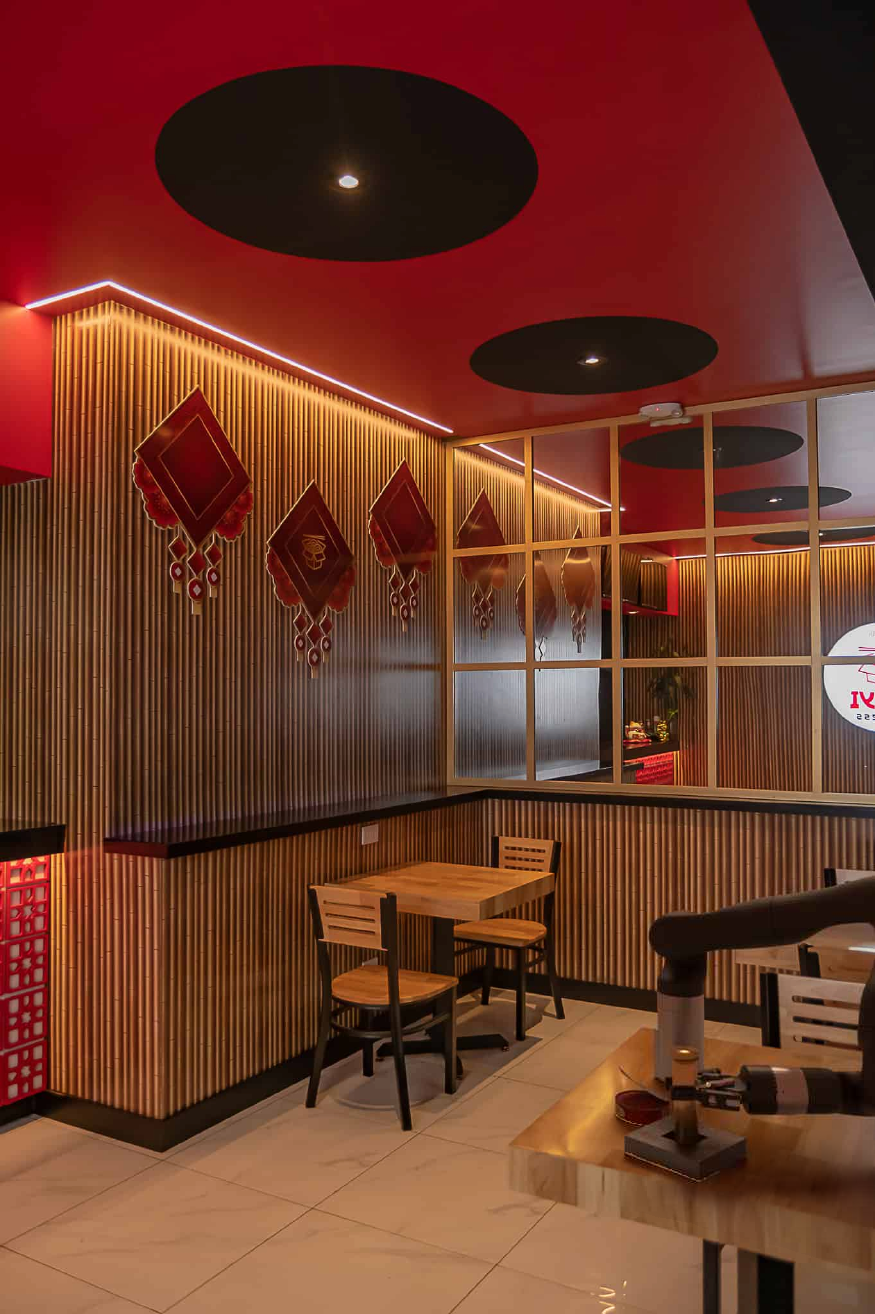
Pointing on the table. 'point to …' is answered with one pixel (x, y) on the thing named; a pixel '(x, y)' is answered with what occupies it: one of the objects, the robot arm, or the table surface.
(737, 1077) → the robot arm
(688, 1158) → the jig
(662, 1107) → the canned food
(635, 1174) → the table surface
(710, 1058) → the table surface
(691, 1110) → the bushing
